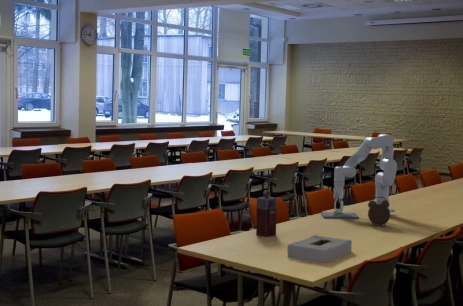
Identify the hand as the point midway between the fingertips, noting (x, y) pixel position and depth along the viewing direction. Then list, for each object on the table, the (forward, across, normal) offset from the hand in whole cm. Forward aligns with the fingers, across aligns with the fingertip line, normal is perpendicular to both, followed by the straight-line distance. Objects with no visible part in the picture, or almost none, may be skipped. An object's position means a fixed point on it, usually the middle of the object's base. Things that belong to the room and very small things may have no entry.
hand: (338, 208), depth 454 cm
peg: (+4, +4, 0) cm, 5 cm away
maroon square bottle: (+6, +88, -19) cm, 91 cm away
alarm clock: (+6, +25, +35) cm, 44 cm away
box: (+6, +120, +26) cm, 122 cm away
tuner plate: (+5, +4, +2) cm, 7 cm away
